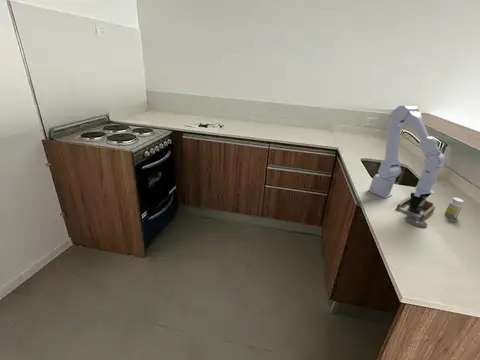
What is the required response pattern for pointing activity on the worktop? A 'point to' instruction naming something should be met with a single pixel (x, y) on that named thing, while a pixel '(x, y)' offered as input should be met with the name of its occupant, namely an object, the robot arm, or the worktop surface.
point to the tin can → (418, 206)
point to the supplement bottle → (454, 207)
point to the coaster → (416, 222)
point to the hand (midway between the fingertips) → (415, 206)
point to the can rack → (427, 206)
